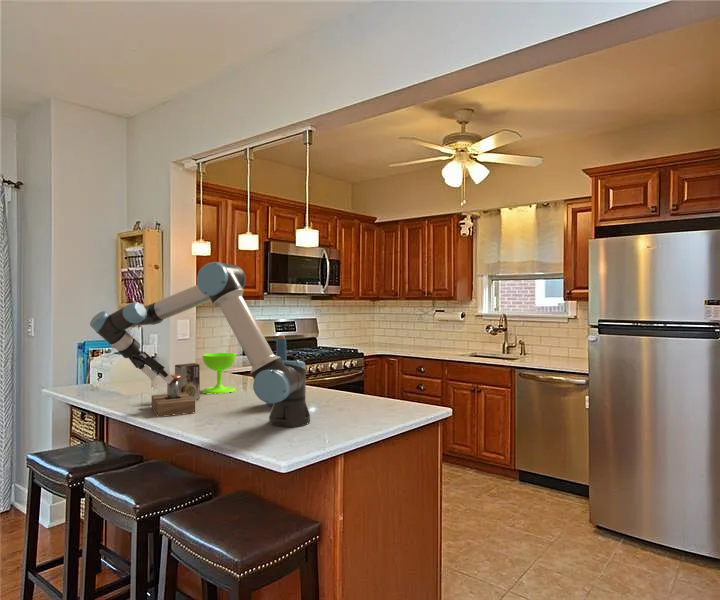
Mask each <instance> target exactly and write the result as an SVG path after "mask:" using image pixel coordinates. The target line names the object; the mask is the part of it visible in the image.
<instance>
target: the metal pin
mask: <svg viewBox="0 0 720 600" xmlns="http://www.w3.org/2000/svg"><path fill="white" fill-rule="evenodd" d="M170 375H171V376H172V377H173V378H174V379H173V380H172V381H171V382H170V384H168V383H167V382H166V383H167V385H166V388H167V391H166V392H167V393H166V394H167V400H169V399H179V379H180V378H181V375H175V374H170Z"/></svg>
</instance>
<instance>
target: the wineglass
mask: <svg viewBox="0 0 720 600" xmlns="http://www.w3.org/2000/svg"><path fill="white" fill-rule="evenodd" d="M201 356H202V361H203V363H204V365H205V366H206V367H207V368H209V369H210V370H211V371H216V375H217V376H216V385H215V386H208V387H206V388H204V389H203V390H202V391H203V392H204V393H203V392H202V393H203V394H205V393H212V394H211V395H220V394H219V393H227V392H232V393H234V392H233V391H235V390H236V388H234V387H233V386H224V385H223V384H222V371H225V370H228V369H229V368H230V367H232V366H233V364H234V363H235V360H236V357H237V354H236V353H235V352H212V353H211V352H209V353H203V354H202V355H201ZM235 392H236V391H235ZM215 393H216V394H215ZM227 394H228V393H227Z"/></svg>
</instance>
